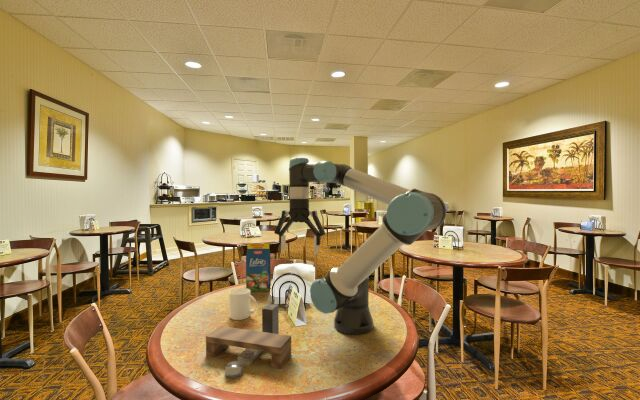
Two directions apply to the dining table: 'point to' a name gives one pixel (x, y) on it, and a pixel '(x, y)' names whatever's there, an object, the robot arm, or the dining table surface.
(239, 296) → the mug
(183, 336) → the dining table surface
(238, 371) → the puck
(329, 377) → the dining table surface
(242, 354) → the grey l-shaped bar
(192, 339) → the dining table surface
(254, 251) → the blue food package
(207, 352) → the riser
